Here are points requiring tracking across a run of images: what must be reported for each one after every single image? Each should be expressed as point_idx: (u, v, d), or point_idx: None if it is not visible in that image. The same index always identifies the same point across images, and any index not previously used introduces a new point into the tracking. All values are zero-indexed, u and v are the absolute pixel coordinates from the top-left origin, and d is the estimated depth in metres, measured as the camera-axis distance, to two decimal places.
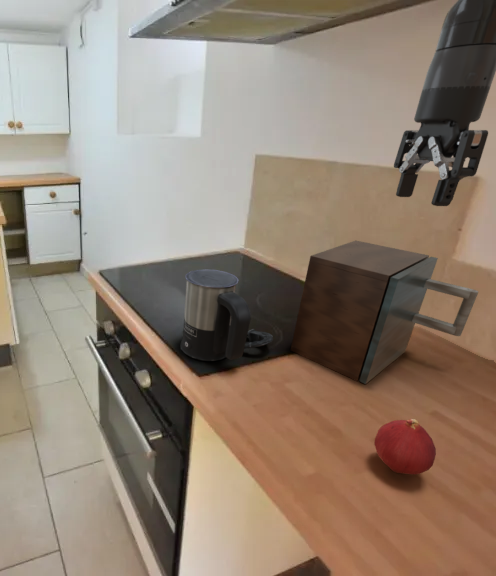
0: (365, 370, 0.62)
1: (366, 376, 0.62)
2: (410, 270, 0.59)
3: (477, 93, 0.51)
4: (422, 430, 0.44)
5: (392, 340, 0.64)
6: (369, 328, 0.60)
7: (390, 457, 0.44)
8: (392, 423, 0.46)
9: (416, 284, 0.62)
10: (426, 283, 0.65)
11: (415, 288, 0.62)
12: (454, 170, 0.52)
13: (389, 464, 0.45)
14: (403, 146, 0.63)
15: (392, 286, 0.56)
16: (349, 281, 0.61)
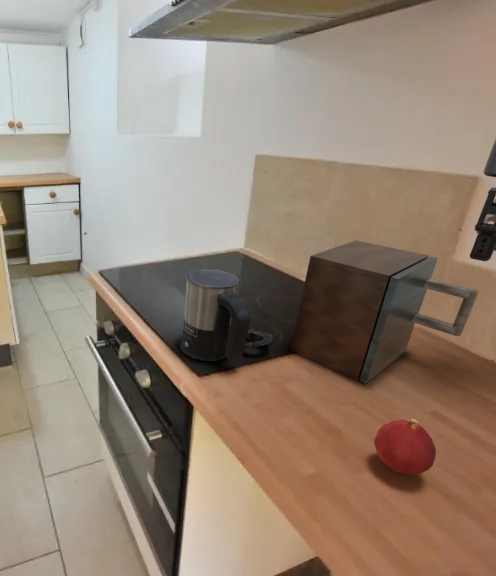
0: (365, 370, 0.62)
1: (366, 376, 0.62)
2: (410, 270, 0.59)
3: None
4: (422, 430, 0.44)
5: (392, 340, 0.64)
6: (369, 328, 0.60)
7: (390, 457, 0.44)
8: (392, 423, 0.46)
9: (416, 284, 0.62)
10: (426, 283, 0.65)
11: (415, 288, 0.62)
12: (476, 225, 0.54)
13: (389, 464, 0.45)
14: None
15: (392, 286, 0.56)
16: (349, 281, 0.61)
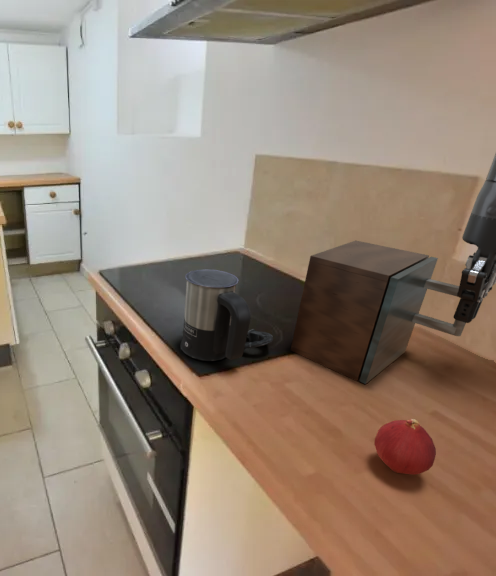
0: (365, 370, 0.62)
1: (366, 376, 0.62)
2: (410, 270, 0.59)
3: None
4: (422, 430, 0.44)
5: (392, 340, 0.64)
6: (369, 328, 0.60)
7: (390, 457, 0.44)
8: (392, 423, 0.46)
9: (416, 284, 0.62)
10: (426, 283, 0.65)
11: (415, 288, 0.62)
12: None
13: (389, 464, 0.45)
14: None
15: (392, 286, 0.56)
16: (349, 281, 0.61)
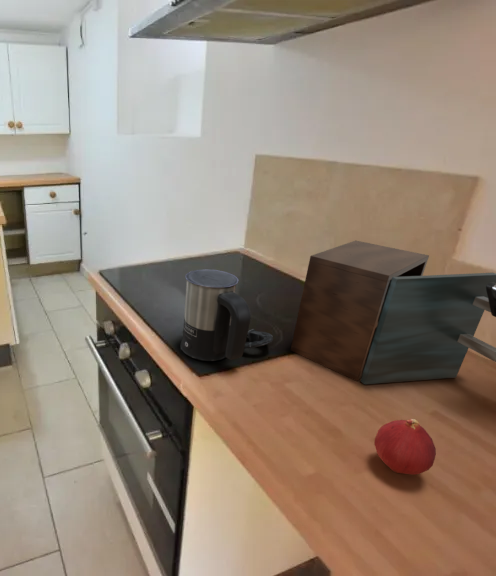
0: (365, 370, 0.62)
1: (365, 376, 0.62)
2: (429, 277, 0.56)
3: None
4: (422, 430, 0.44)
5: (412, 350, 0.61)
6: (369, 328, 0.60)
7: (390, 457, 0.44)
8: (392, 423, 0.46)
9: (449, 295, 0.58)
10: (475, 300, 0.58)
11: (448, 300, 0.58)
12: None
13: (389, 464, 0.45)
14: None
15: (392, 286, 0.56)
16: (349, 281, 0.61)
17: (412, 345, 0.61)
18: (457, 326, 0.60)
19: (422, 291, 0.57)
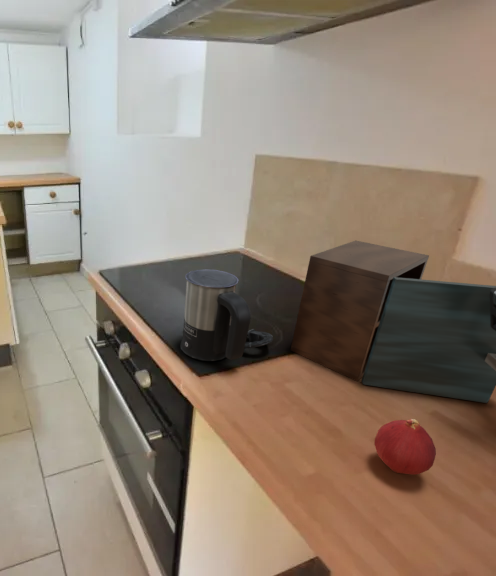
0: (365, 370, 0.62)
1: (365, 376, 0.62)
2: (439, 282, 0.54)
3: None
4: (422, 430, 0.44)
5: (422, 359, 0.59)
6: (369, 328, 0.60)
7: (390, 457, 0.44)
8: (392, 423, 0.46)
9: (467, 306, 0.54)
10: None
11: (466, 311, 0.54)
12: None
13: (389, 464, 0.45)
14: None
15: (392, 286, 0.56)
16: (349, 281, 0.61)
17: (421, 353, 0.58)
18: (483, 343, 0.55)
19: (429, 296, 0.55)
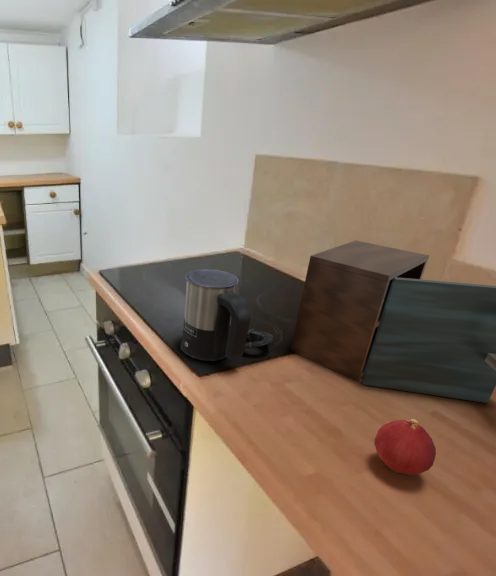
0: (365, 370, 0.62)
1: (365, 376, 0.62)
2: (439, 282, 0.54)
3: None
4: (422, 430, 0.44)
5: (422, 359, 0.59)
6: (369, 328, 0.60)
7: (390, 457, 0.44)
8: (392, 423, 0.46)
9: (467, 306, 0.54)
10: None
11: (466, 311, 0.54)
12: None
13: (389, 464, 0.45)
14: None
15: (392, 286, 0.56)
16: (349, 281, 0.61)
17: (421, 353, 0.58)
18: (483, 343, 0.55)
19: (429, 296, 0.55)
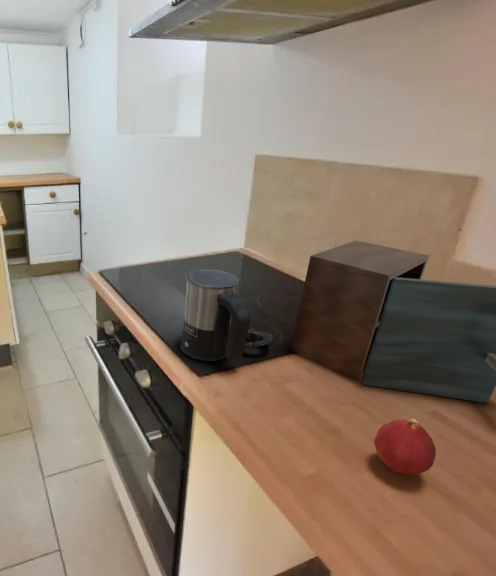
0: (365, 370, 0.62)
1: (365, 376, 0.62)
2: (439, 282, 0.54)
3: None
4: (422, 430, 0.44)
5: (422, 359, 0.59)
6: (369, 328, 0.60)
7: (390, 457, 0.44)
8: (392, 423, 0.46)
9: (467, 306, 0.54)
10: None
11: (466, 311, 0.54)
12: None
13: (389, 464, 0.45)
14: None
15: (392, 286, 0.56)
16: (349, 281, 0.61)
17: (421, 353, 0.58)
18: (483, 343, 0.55)
19: (429, 296, 0.55)
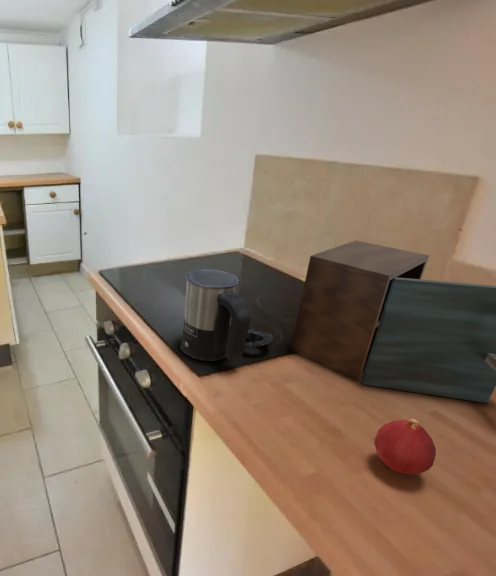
0: (365, 370, 0.62)
1: (365, 376, 0.62)
2: (439, 282, 0.54)
3: None
4: (422, 430, 0.44)
5: (422, 359, 0.59)
6: (369, 328, 0.60)
7: (390, 457, 0.44)
8: (392, 423, 0.46)
9: (467, 306, 0.54)
10: None
11: (466, 311, 0.54)
12: None
13: (389, 464, 0.45)
14: None
15: (392, 286, 0.56)
16: (349, 281, 0.61)
17: (421, 353, 0.58)
18: (483, 343, 0.55)
19: (429, 296, 0.55)
